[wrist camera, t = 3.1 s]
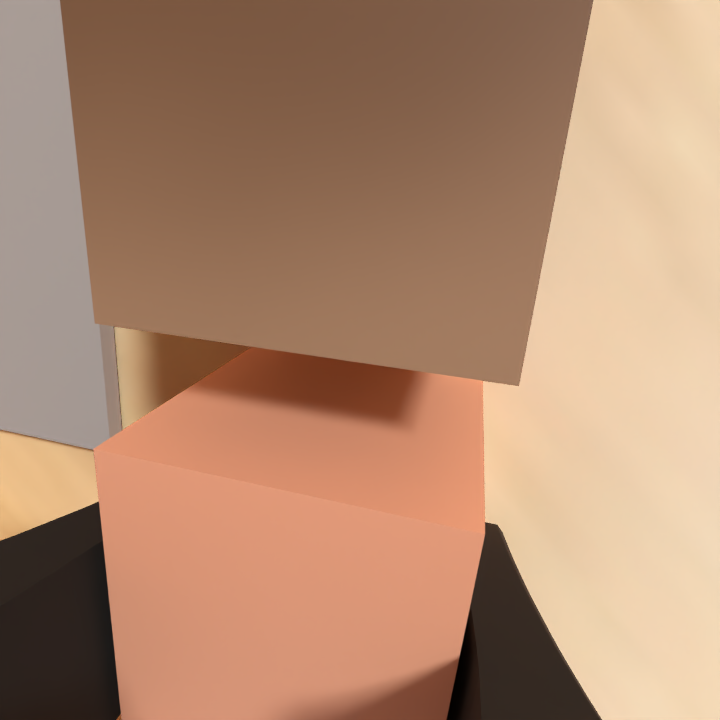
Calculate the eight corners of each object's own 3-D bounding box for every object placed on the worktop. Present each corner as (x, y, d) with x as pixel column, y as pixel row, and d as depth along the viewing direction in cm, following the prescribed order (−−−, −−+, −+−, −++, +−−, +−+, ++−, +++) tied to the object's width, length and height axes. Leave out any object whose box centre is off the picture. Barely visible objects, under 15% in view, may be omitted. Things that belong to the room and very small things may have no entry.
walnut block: (500, 295, 9) (518, 385, 4) (265, 269, 9) (94, 323, 5) (574, -143, 7) (734, -727, 2) (269, -126, 7) (0, -543, 3)
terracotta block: (436, 628, 11) (410, 892, 7) (253, 580, 12) (128, 790, 8) (482, 378, 9) (485, 534, 5) (258, 342, 10) (93, 448, 6)
